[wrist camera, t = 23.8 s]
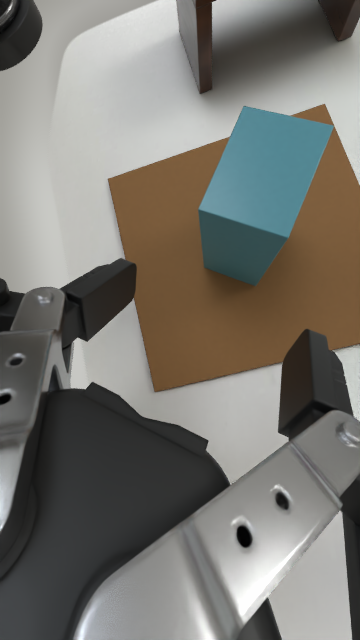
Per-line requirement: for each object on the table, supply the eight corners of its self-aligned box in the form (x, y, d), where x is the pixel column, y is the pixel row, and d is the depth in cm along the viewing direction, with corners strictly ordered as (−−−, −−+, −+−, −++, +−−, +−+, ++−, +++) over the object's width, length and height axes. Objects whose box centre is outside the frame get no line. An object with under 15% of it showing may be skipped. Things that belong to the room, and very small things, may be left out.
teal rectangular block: (203, 267, 19) (197, 209, 11) (231, 204, 19) (243, 105, 12) (255, 286, 18) (288, 238, 10) (283, 220, 19) (334, 125, 11)
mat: (109, 181, 22) (107, 178, 21) (322, 108, 20) (325, 103, 19) (155, 391, 19) (154, 392, 18) (416, 329, 17) (421, 329, 16)
